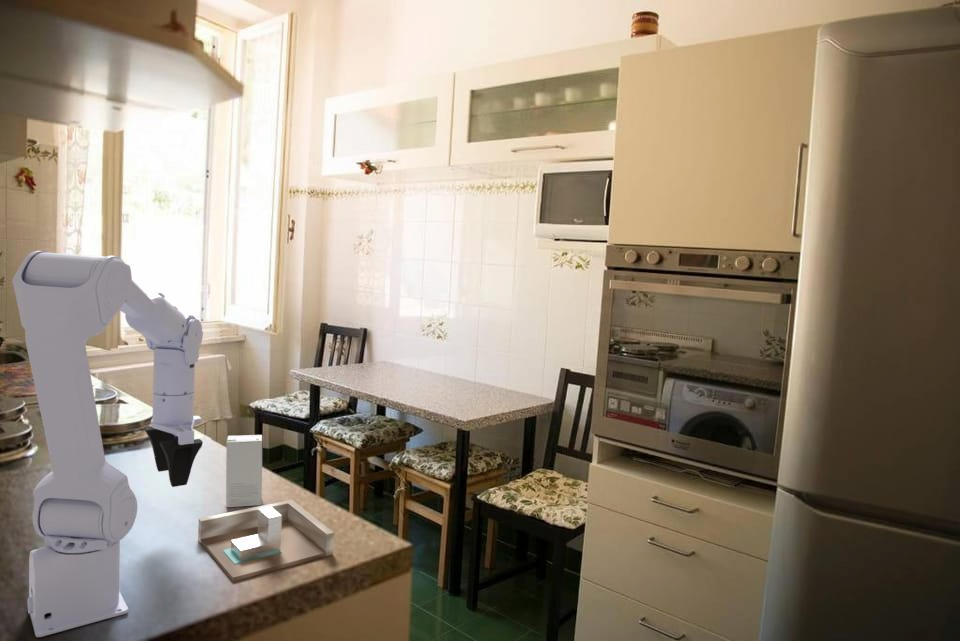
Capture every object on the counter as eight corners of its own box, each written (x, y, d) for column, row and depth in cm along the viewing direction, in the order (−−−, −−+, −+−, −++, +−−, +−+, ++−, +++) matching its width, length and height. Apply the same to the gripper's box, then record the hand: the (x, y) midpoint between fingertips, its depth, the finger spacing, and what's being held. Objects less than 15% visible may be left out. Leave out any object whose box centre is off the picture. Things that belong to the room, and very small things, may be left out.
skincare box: (261, 497, 118) (263, 433, 117) (261, 506, 114) (264, 440, 113) (225, 499, 116) (227, 434, 115) (224, 509, 112) (226, 441, 111)
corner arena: (232, 581, 88) (233, 557, 88) (198, 540, 100) (198, 518, 99) (332, 554, 98) (334, 532, 98) (291, 519, 110) (291, 499, 109)
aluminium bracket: (280, 550, 97) (281, 515, 96) (240, 560, 93) (241, 524, 92) (269, 540, 100) (271, 506, 99) (230, 549, 96) (231, 514, 95)
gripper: (216, 399, 96) (213, 487, 97) (187, 380, 107) (185, 460, 108) (165, 403, 91) (163, 496, 92) (140, 384, 102) (138, 466, 103)
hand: (171, 477), depth 100 cm, fingers open, 7 cm apart
